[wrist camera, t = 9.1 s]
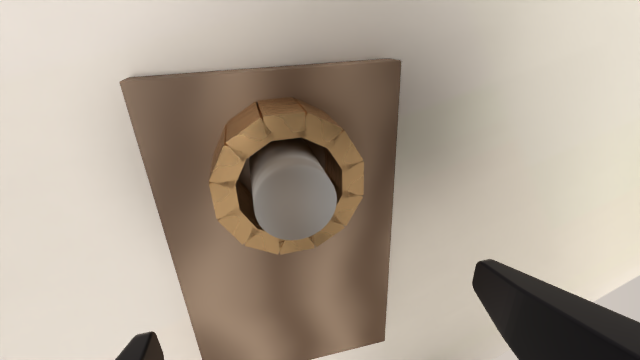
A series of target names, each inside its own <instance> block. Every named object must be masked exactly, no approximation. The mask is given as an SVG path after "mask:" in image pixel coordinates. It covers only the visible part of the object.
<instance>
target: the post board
mask: <svg viewBox="0 0 640 360" xmlns="http://www.w3.org/2000/svg"><path fill="white" fill-rule="evenodd" d="M400 74H401V61H400V60H395V59H376V60H363V61H349V62H335V63H321V64H308V65H294V66H280V67H266V68H253V69H239V70H225V71H212V72H198V73H184V74H170V75H157V76H143V77H129V78H127V79H124V80H122V81H120V86H121V89H122V92H123V96H124V99H125V102H126V106H127V109H128V112H129V116H130V119H131V122H132V126H133V129H134V132H135V136H136V139H137V143H138V146H139V149H140V153H141V156H142V159H143V163H144V166H145V169H146V173H147V176H148V179H149V183H150V186H151V189H152V193H153V196H154V199H155V203H156V206H157V209H158V213H159V216H160V219H161V223H162V226H163V229H164V233H165V236H166V240H167V243H168V246H169V250H170V253H171V256H172V260H173V263H174V266H175V270H176V273H177V276H178V280H179V283H180V286H181V290H182V293H183V296H184V300H185V303H186V306H187V310H188V313H189V316H190V320H191V323H192V326H193V330H194V333H195V337H196V340H197V343H198V347H199V350H200V353H201V357H202V360H311V359H315V358H319V357H323V356H327V355H331V354H335V353H339V352H343V351H347V350H351V349H355V348H359V347H363V346H366V345H370V344H374V343H378V342H382V341H385V324H386V308H387V291H388V274H389V257H390V241H391V224H392V207H393V191H394V174H395V157H396V141H397V124H398V107H399V90H400ZM287 97H293V99H294V97H295V98H297V99H299V100H301V101H303V102H305V103H307V104H309V105H312V106H314V107H316V108H318V109H320V110H322V111H324V112H325V113H326V114H327V115H329V116H330V117H331V118H332V119H333V120H334V121H335V122H336V123H337V124H338V125H339V126H341V127H342V128H343V129H344V130H345V131H346V133H347V135H348V136H349V138H350V139H351V141H352V143H353V144H354V146H355V147H356V149H357V151H358V152H359V154H360V155H361V157H362V158H363V160H362V161H363V162H364V195H362V197H363V198H362V200H361V201H360V203H359V205H358V207H357V208H356V210H355V212H354V214H353V215H352V217H351V219H350V221H349V222H348V224H347V226H345V225H344V227H345V228H344V229H342V230H341V231H339V232H338V233H337V234H335V235H334V236H332V237H331V238H329V239H328V240H326V241H325V242H324V243H322V244H321V245H319V246H318V247H316V246H315V245H314V248H313V249H308V250H302V251H297V252H292V253H286V254H281V255H280V251H279V253H278V254H274V253H270V252H266V251H262V250H258V249H255V248H251V247H247V246H244V244H243V245H242V244H241V243H240V242H239V241H238V240H237V239H236V238H235V237H234V236H233V235H232V234H231V233H230V232H229V231H228V230H227V229H226V228H224V227H223V226H222V225H221V224H220V223H219V222H218V219H216V215H215V210H214V206H213V201H212V196H211V192H210V187H209V178H210V172H211V165H212V159H213V153H214V151H215V148H216V146H217V144H218V141H219V139H220V136H221V134H222V131H223V129H224V126H225V124H227V121H229V120H230V119H231V118H233V117H234V116H236V115H237V114H238V113H240V112H241V111H242V110H244V109H245V108H247V107H248V106H249V105H251V104H252V103H253V102H256V103H257V104H258V101H257V100H266V99H277V98H287ZM324 169H325V155H324V147H323V146H321V145H318V144H316V143H314V142H311V141H309V140H307V139H304V138H302V137H301V138H292V139H284V140H276V141H271V142H269V143H268V144H267V145H265V146H264V147H262V148H261V149H260V150H258V151H257V152H255V153H254V154H253V155H251V156H250V157H249V158H247V159H246V161H245V164H244V166H243V168H242V171H241V173H240V175H239V177H238V179H239V181H240V182H241V183H242V184H243V185H244V186H245V187H246V188H247V190H248V191H249V192H250V193H251V194H252V195H253V204H254V212H255V216H256V219H257V221H258V223H259V225H260V226H261V227H262V228H263V229H264V230H265V231H266V232H267V233H269V234H270V235H272V236H274V237H276V238H279V239H283V240H300V239H304V238H307V237H310V236H312V235H314V234H316V233H317V232H319V231H320V230H321V229H323V228H324V227H325V226H326V225H327V224H328V222H329V221H330V220H331V218H332V216H333V214H334V212H335V209H336V204H337V196H336V191H335V188H334V186H333V184H332V182H331V181H330V179H329V177H328V176H327V174H326V173H325V171H324Z"/></svg>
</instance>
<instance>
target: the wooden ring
mask: <svg viewBox="0 0 640 360" xmlns="http://www.w3.org/2000/svg"><path fill="white" fill-rule="evenodd" d="M257 101H258V104H257V103H256V102H253V103H252V104H251V105H249V106H248V107H247V108H245V109H244V110H242V111H241V112H240V113H238V114H237V115H236V116H234V117H233V118H231V119H230V120H229V121H227V124H225V126H224V129H223V131H222V134H221V136H220V139H219V141H218V144H217V146H216V148H215V151H214V153H213V159H212V165H211V172H210V178H209V187H210V192H211V196H212V201H213V206H214V210H215V215H216V219H218V222H219V223H220V224H221V225H222V226H223V227H224V228H226V229H227V230H228V231H229V232H230V233H231V234H232V235H233V236H234V237H235V238H236V239H237V240H238V241H239V242H240V243H241V244H242V245H243V244H244V246H247V247H251V248H255V249H258V250H262V251H266V252H270V253H274V254H278V253H279V251H280V255H281V254H286V253H292V252H297V251H302V250H308V249H313V248H314V245H315V246H316V247H318V246H319V245H321V244H322V243H324V242H325V241H326V240H328V239H329V238H331V237H332V236H334V235H335V234H337V233H338V232H339V231H341V230H342V229H344V228H345V227H344V225H345V226H347V224H348V222H349V221H350V219H351V217H352V215H353V214H354V212H355V210H356V208H357V207H358V205H359V203H360V201H361V200H362V198H363V197H362V195H364V162H363V161H362V160H363V158H362V157H361V155H360V154H359V152H358V151H357V149H356V147H355V146H354V144H353V143H352V141H351V139H350V138H349V136H348V135H347V133H346V131H345V130H344V129H343V128H342V127H341V126H339V125H338V124H337V123H336V122H335V121H334V120H333V119H332V118H331V117H330V116H329V115H327V114H326V113H325V112H324V111H322V110H320V109H318V108H316V107H314V106H312V105H309V104H307V103H305V102H303V101H301V100H299V99H297V98H295V97H294V99H293V97H287V98H277V99H266V100H257ZM301 137H302V138H304V139H307V140H309V141H311V142H314V143H316V144H318V145H321V146H323V147H324V155H325V169H324V171H325V173H326V174H327V176H328V177H329V179H330V181H331V182H332V184H333V186H334V188H335V191H336V196H337V204H336V209H335V212H334V214H333V216H332V218H331V220H330V221H329V222H328V224H327V225H326V226H325V227H324V228H323V229H321V230H320V231H319V232H317V233H316V234H314V235H312V236H310V237H307V238H304V239H300V240H283V239H279V238H276V237H274V236H272V235H270V234H269V233H267V232H266V231H265V230H264V229H263V228H262V227H261V226H260V225H259V223H258V221H257V219H256V216H255V212H254V204H253V195H252V194H251V193H250V192H249V191H248V190H247V188H246V187H245V186H244V185H243V184H242V183H241V182H240V181H239V179H238V177H239V175H240V173H241V171H242V168H243V166H244V164H245V161H246V159H247V158H249V157H250V156H251V155H253V154H254V153H255V152H257V151H258V150H260V149H261V148H262V147H264V146H265V145H267V144H268V143H269V142H271V141H276V140H284V139H292V138H301Z"/></svg>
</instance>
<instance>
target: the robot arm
mask: <svg viewBox="0 0 640 360" xmlns="http://www.w3.org/2000/svg"><path fill="white" fill-rule="evenodd" d="M472 284H473V288H474V291H475V292H476V294H477V296H478V297H479V299H480V301H481V302H482V304H483V306H484V307H485V309H486V311H487V312H488V314H489V316H490V317H491V319H492V321H493V322H494V324H495V326H496V327H497V329H498V331H499V332H500V334H501V335H502V337H503V338H504V340H505V341H506V343H507V344H508V345H509V347H510V348H511V350H512V351H513V352H514V354H515V355H516V356H517V358H518V359H519V360H640V323H639V322H637V321H635V320H633V319H630V318H628V317H625V316H623V315H621V314H618V313H616V312H614V311H611V310H609V309H607V308H605V307H602V306H600V305H597V304H595V303H593V302H591V301H588V300H586V299H584V298H581V297H579V296H577V295H574V294H572V293H569V292H567V291H565V290H562V289H560V288H558V287H555V286H553V285H551V284H548V283H546V282H544V281H541V280H539V279H537V278H534V277H532V276H530V275H527V274H525V273H523V272H520V271H518V270H516V269H513V268H511V267H509V266H506V265H504V264H502V263H499V262H497V261H495V260H492V259H488V260H483V261H479V262H478V263H477V264H476V267H475V272H474V277H473V282H472ZM115 360H164V355H163V351H162V349H161V346H160V343H159V341H158V338H157V335H156V334H155V333H154V332H147V333H142V334H138V335H136V336H135V337H134V338H133V339H132V340H131V341H130V342H129V344H128V345H127V346H126V347H125V348H124V350H123V351H122V352H121V353H120V354H119V356H118V357H117V358H116V359H115Z"/></svg>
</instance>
